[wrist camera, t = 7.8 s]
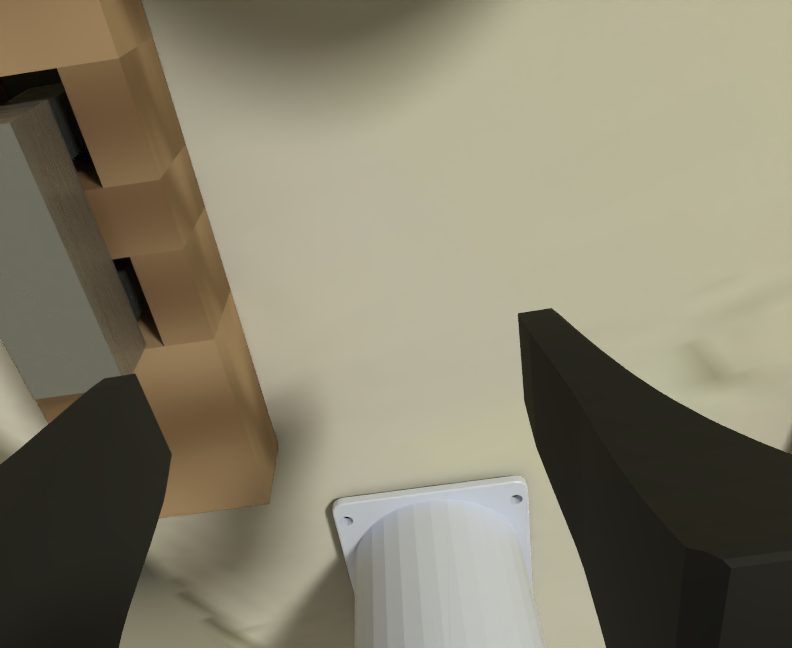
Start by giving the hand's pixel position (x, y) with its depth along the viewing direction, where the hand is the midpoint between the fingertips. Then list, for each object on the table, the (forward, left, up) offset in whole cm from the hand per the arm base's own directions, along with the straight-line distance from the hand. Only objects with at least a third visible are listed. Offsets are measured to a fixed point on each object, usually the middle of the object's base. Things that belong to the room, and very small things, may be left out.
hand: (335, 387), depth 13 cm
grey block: (+1, +7, -10) cm, 12 cm away
